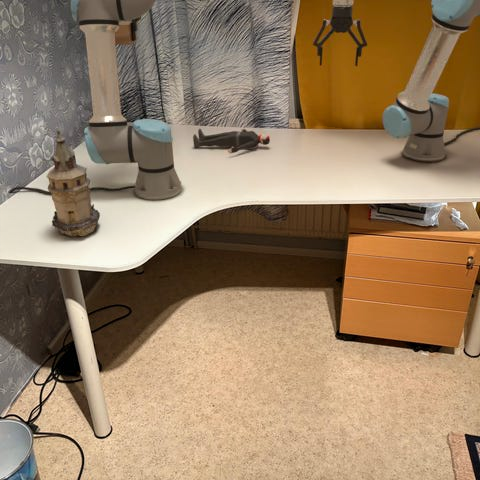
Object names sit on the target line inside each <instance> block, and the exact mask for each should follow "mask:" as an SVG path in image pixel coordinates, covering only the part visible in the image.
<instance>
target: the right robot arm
mask: <svg viewBox="0 0 480 480" xmlns="http://www.w3.org/2000/svg"><path fill="white" fill-rule="evenodd" d="M354 2H355V1H354V0H332V8H331V19H330V20H329V19H325V18H324V19H323V21H322V25H321V27H320V29H319V31H318V33H317V35H316V36H315V39H314V40H313V41H312V45H313V46H314V47H316V48H317V50H316V55H317V57H319V66H321V67H322V65H323V51H324V49H323V47H324V46H323V45H324V43H326V42H327V40H328V39H329V38H330V37H331V36H332V35H333V34H334V33H336V34H340V33H342V34H346V33H348V35H349V36H350V37H351V38H352V40H353V41H354V43H355V44H356V45H357V47H356V50H355V62H354V66H355V67H358V65H359V64H358V61H359V58H361V57H362V54H363V53H362V51H363V48H366V47H367V46H368V42H367V41H366V37H365V35H364V32H363V29H362V27H361V19H360V18H359V19H355V20H354V19H353V11H354V7H353V5H354ZM430 5H431V7H432V8H431V12H432V15H431V18H430V19H431V21H432V23H433V25H432V27H431V29H430V31H429V34H428V37H427V38H426V41H425V43H424V46H423V48H422V50H421V52H420V54H419V57H418V59H417V61H416V64H415V66H414V67H413V70H412V73H411V75H410V78H409V79H408V82H407V84H406V87H405V89H404V91H401V92H399V93H398V94H397V96H396V98H395V100H394V103H393V104H392V105H389V106H387V107H386V108H385V109H384V111H383V112H382V125H383V129H384V130H385V132H386V133H387V134H388V135H389V136H390V137H392V138H395V139H404V138H407V140H406V142H405V144H404V146H403V148H402V155H403V156H404V157H405V158H407V159H408V160H412V161H415V162H421V163H435V162H440V161H443V160H444V159H445V158H446V149H445V146H446V145H449V144H451V143H453V142H454V141H456V140H457V138H458V137H459V136H461V135H463V134H465V133H468V132H472V131H475V130H476V131H477V130H479V129H480V126H477V127H472V128H468V129H464V130H463V131H461V132H459V133H460V134H459V133H457V134H455V136H454V137H453V138H452V139H450V140H448V141H446V142H445V141H444V133H445V127H446V122H447V117H448V111H449V109H450V107H449V105H450V99H449V98H448V97H447V96H446V95H443V94H440V93H433V92H434V90H435V87H436V86H437V83H438V82H439V79H440V77H441V75H442V73H443V71H444V68H445V67H446V65H447V63H448V61H449V58H450V57H451V54H452V52H453V50H454V47H455V46H456V44H457V42H458V40H459V37H460V35H461V34H462V33H465V32H468V30H469V28H470V26H471V25H472V22H473V20H474V18H476V17H480V0H431V3H430ZM329 24H330V27H331V28H330V30H329V31H328V32H327V33H326V34H325V35H324V37H322V39H321V36H322V35H323V33H324V31H325V29H326V27H329ZM353 25H354V27H356V28H357V32H358V35H359V36H360V38H361V41H360V40H359V39H358V37H357V36H356V34H355V33H354V32H353V30H352V28H351V27H352V26H353ZM320 39H321V40H320ZM319 40H320V41H319ZM455 137H456V138H455Z"/></svg>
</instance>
